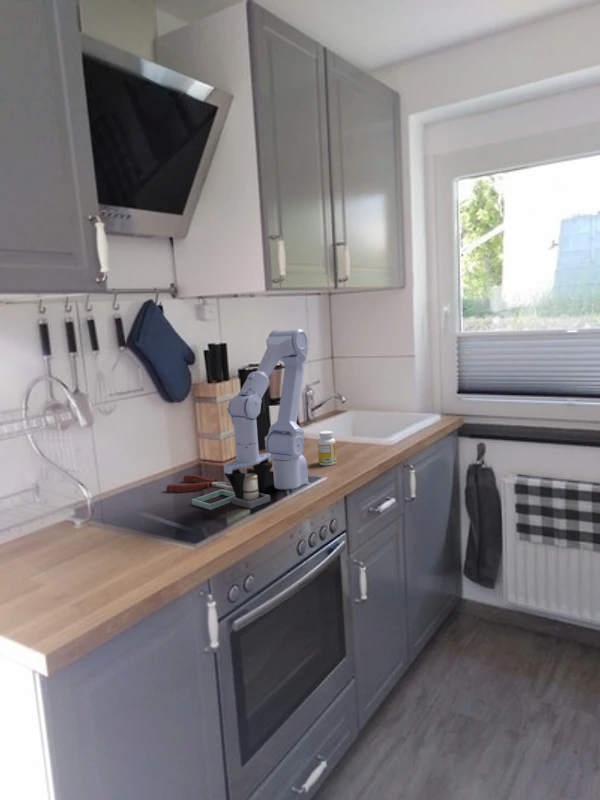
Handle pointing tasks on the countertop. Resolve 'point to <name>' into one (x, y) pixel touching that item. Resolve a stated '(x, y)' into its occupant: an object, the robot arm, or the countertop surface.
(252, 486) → the cylinder
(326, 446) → the supplement bottle
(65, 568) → the countertop surface
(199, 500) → the teal rectangular frame
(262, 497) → the socket block
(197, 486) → the pliers
